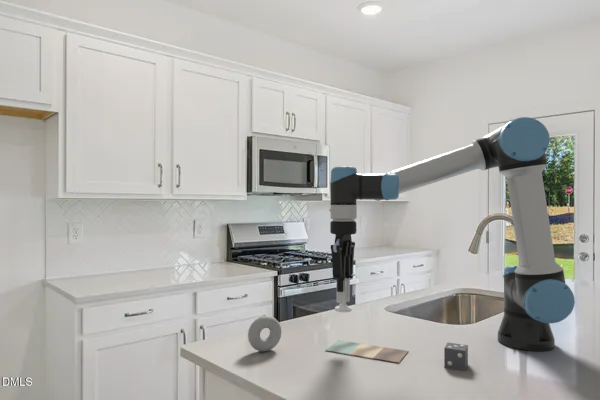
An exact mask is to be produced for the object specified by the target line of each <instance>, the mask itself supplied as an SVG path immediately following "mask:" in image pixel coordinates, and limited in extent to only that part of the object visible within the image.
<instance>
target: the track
mask: <svg viewBox="0 0 600 400" xmlns="http://www.w3.org/2000/svg"><path fill="white" fill-rule="evenodd" d="M325 352H329V353H335V354H342V355H347V356H352V357H357V358H358V357H360V358H364V359H369V360H377V361H381V362H388V363H394V364H400V363H401V362H402V361H403V359H404V358H405V357H406V355H408V353H409V350H406V349H405V350H404V349H398V348H391V347H387V346H386V347H385V346H380V345H371V344H366V343H359V342H353V341H347V340H340V339H339V340H337V341H336V342H334V343H332V345H330V346H329V347H327V348H326V349H325Z"/></svg>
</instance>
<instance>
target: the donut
mask: <svg viewBox="0 0 600 400" xmlns="http://www.w3.org/2000/svg"><path fill="white" fill-rule="evenodd" d="M264 329H268V330H269V335H268V336H267V337H266V338H262V337H261V332H262V331H263V330H264ZM281 337H282V326H281V324H280V322H279V321H278V319H276V318H275V317H273V316H271V315H262V316H260V317H257V318H256V319H254V320H253V322H252V323H251V325H250V327H249V328H248V333H247V338H248V342H249V345H250V346H251V347H252V348H253V349H254V350H255V351H258V352H260V353H261V352H264V353H265V352H268V351H271V350H272V349H274V348H275V347H276V346H277V345H278V344H279V342H280V340H281Z"/></svg>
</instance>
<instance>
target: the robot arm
mask: <svg viewBox="0 0 600 400" xmlns="http://www.w3.org/2000/svg"><path fill="white" fill-rule="evenodd" d="M550 139H551V137H550V132H549V131H548V129H547V127H546V125H544V123H542V122H541V121H539V119H536V118H533V117H527V116H524V117H523V116H522V117H517V118H514V119H510V120H508V121H506V122H505V123H504V124H502V125H501V126H500V127H498V128H496V129H495V130H493V131H492V132H490V133H488V134H486V135H484V136H481V137H479V138H476V139H474V140H472V141H471V143H470V144H469V145H466V146H463V147H459V148H457V149H454V150H451V151H449V152H444V153H442V154H439V155H436V156H433V157H430V158H428V159H423V160H422V161H417V162H415V163H413V164H409V165H406V166H403V167H399V168H396V169H394V170H391V171H388V172H384V173H383V172H382V173H358V170H357V167H355V166H347V165H346V166H334V167H333V168H331V171H330V181H329V186H330V187H329V188H330V191H329V192H330V208H329V210H328V211H329V212H330V219H331V221H330V223H329V224H330V225H329V228H330V229H329V231H330V234H332V235H335V236H334V244H331V245H330V252H331V263H332V280H334V281H336V302H335V303H337V304H340V303H344V304H345V303H346V304H347V303H349V302H350V300H351V299H350V298H351V291H350V290H351V279H353V278H354V257H355V245H356V242H355V241H353V240H352V235H355V234H357V222H356V219H357V217H358V214H357V210H358V209H357V200H359V201H360V200H361V201H362V200H363V201H364V200H365V201H367V200H369V201H377V202H378V201H393V200H397V199H398V198H399V197H400V196H399V195H400V194H404V193H406V192H409V191H412V190H415V189H419V188H422V187H424V186H428V185H431V184H435V183H437V182H440V181H443V180H448V179H450V178H453V177H456V176H459V175H462V174H463V175H464V174H466V173H469V172H471V171H472V172H473V171H475V170H481V171H486V170H490V169H494V168H497V167H498V171H499V173H500V174H501V175H502V176H504V177H505V178H506V183H507V190H508V197H509V202H510V209H511V215H512V223H513V229H514V231H513V232H514V237H515V244H516V249H517V256H518V261H519V263H518V265H507V266H505V268H504V270H503V275H502V278H503V316H502V319H501V321H500V326H499V328H498V330H497V341H498V342H499V343H500V344H502V345H504V346H507V347H510V348H514V349H519V350H523V351H531V352H532V351H534V352H547V351H551V350H553V349H554V348H555V345H556V343H555V342H556V341H555V336H554V333H553V331H552V328H551V325H550V324H557V323H560V322H562V321H564V320H565V319H567V318H568V317H569V316H570V315H571V314H572V313H573V311H574V308H575V304H576V301H575V300H576V299H575V295H574V293H573V291H572V289H571V288H570V286H569V285H567V284H566V279H565V273H564V267H562V266H561V265H560V264H558V263H557V261H556V257H555V252H554V251H555V249H554V243H553V236H552V231H551V224H550V223H551V222H550V218H549V213H548V211H549V210H548V206H547V205H548V204H547V198H546V192H545V191H546V190H545V185H544V178H543V171H544V170H545V169H546V167H547V166H548V161H547V156H546V155H547V154H546V152H547V150H548V149H549V146H550ZM345 278H346V280H345ZM346 282H347V284H346ZM346 290H347V292H346Z"/></svg>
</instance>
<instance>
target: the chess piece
mask: <svg viewBox="0 0 600 400" xmlns="http://www.w3.org/2000/svg"><path fill="white" fill-rule="evenodd" d="M345 280H346V278H345ZM346 284H347V282H346ZM346 292H347V290H346ZM338 304H339V305H336V306H335V307H334V311H335V312H338V313H350V312H352V311H353V310H352V307H351V306H348V304H347V302H346V303H345V304H344V303H338Z"/></svg>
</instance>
